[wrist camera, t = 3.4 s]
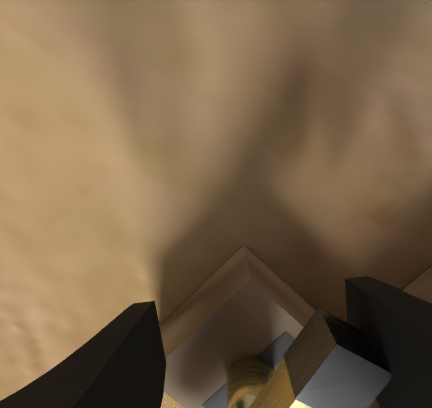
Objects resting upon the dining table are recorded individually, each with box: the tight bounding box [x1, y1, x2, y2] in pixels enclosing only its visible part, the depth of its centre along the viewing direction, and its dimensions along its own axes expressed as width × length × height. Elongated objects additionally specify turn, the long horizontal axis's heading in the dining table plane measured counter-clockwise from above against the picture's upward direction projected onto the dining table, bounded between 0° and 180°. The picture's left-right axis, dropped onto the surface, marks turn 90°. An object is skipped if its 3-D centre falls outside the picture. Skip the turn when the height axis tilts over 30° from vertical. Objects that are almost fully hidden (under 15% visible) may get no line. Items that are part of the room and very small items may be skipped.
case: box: [160, 245, 432, 408], centre depth 14 cm, size 14×16×4 cm
